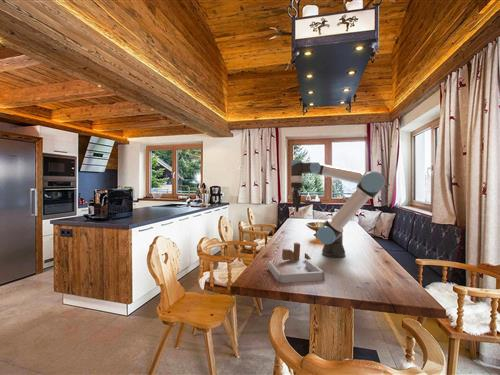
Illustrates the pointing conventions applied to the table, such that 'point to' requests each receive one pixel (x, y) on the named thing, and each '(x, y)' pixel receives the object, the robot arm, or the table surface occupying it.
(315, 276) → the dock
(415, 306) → the table surface
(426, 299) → the table surface
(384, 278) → the table surface
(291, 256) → the wooden block set
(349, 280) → the table surface
